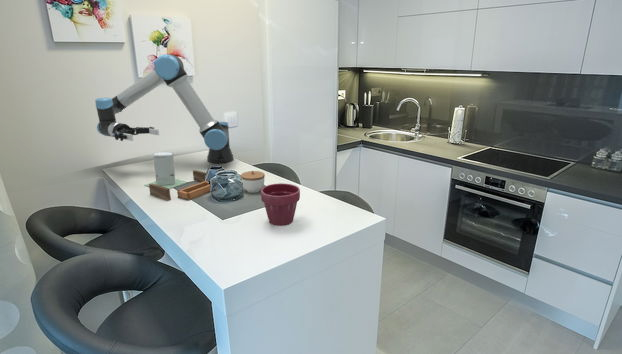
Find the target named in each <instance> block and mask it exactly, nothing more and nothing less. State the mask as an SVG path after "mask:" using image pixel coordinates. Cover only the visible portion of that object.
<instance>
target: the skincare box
mask: <svg viewBox="0 0 622 354" xmlns="http://www.w3.org/2000/svg"><path fill="white" fill-rule="evenodd" d="M153 161H154V171H155V181H156V184H157V185H159V186H160V185H173V184H175V179H176V174H175V160H174V152H171V151H170V152H164V151H163V152H154V154H153Z"/></svg>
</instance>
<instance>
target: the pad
mask: <svg viewBox="0 0 622 354" xmlns="http://www.w3.org/2000/svg"><path fill="white" fill-rule="evenodd" d="M151 183H153V184H156V180H155V181H152V182H149V183H145V184H144V187H148V188H149V184H151ZM188 183H189V182H188V181H185V180H183V179H182V180H181V179H179V178H178V179H177V178H175V184H173V185H160V186H162V187H166V188H169V189H170V190H171V189H174V188H178V187H181V186H183V185H185V184H188ZM156 185H157V184H156Z"/></svg>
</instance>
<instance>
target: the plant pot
mask: <svg viewBox="0 0 622 354" xmlns="http://www.w3.org/2000/svg"><path fill="white" fill-rule="evenodd" d="M260 191H261V192H260V197H261V198H260V199H261V201H262V203H263V204H264V208H265V212H266V216H267V218H268V219H267V220H268V223H269V224H271V225H273V226H275V227H276V226H277V227H284V226H288V225H291V224H292V223H293V222H294V218H295V214H296V209H297V206H298V205H297V204H298V202H299V200H300V199H301V188H300V187H299V186H297V185H296V184H291V183H271V184H267V185H265V186H263V187H262V188H261V189H260Z"/></svg>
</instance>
